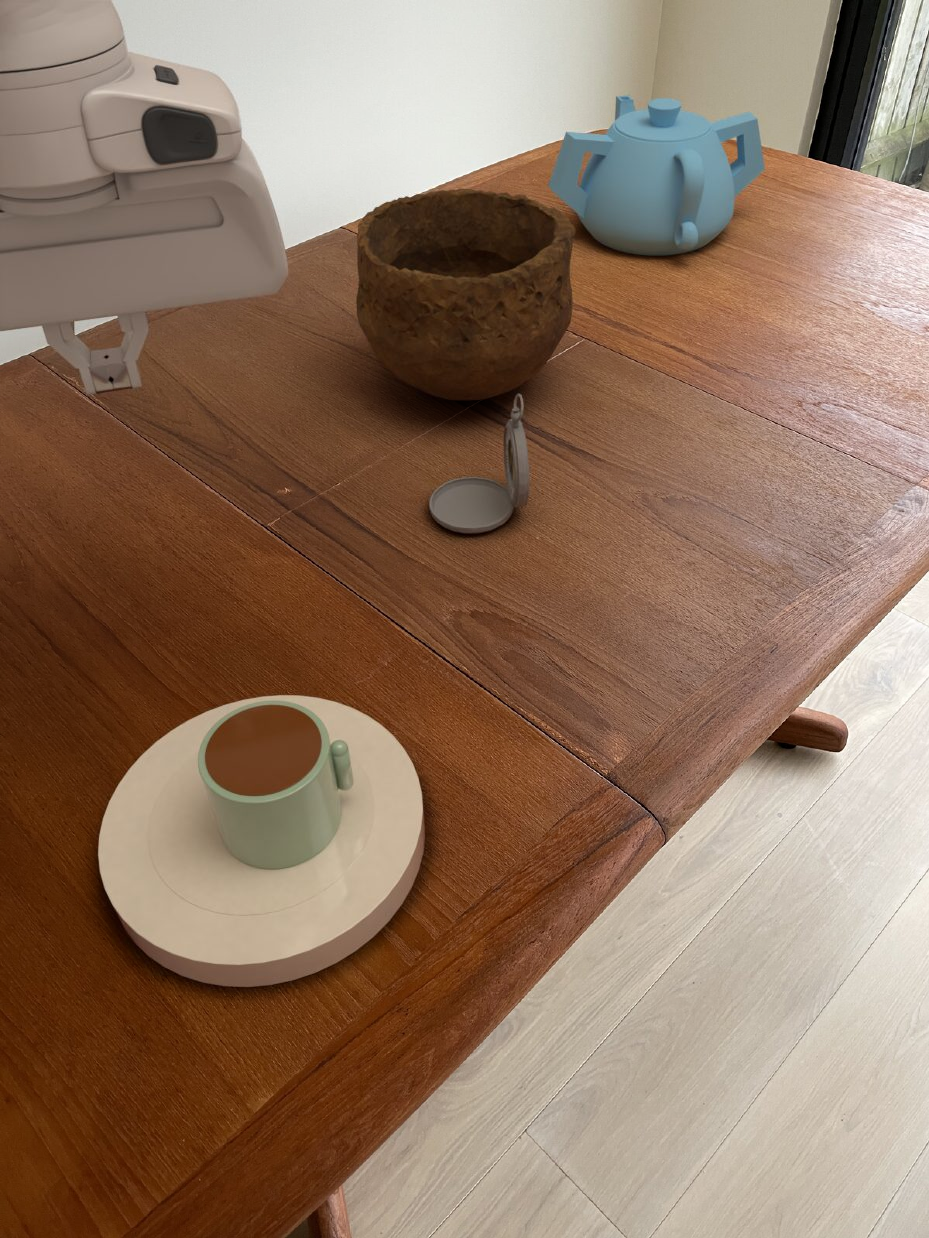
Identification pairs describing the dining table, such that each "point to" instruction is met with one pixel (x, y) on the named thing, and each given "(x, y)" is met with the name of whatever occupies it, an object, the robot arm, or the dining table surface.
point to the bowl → (464, 289)
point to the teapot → (657, 177)
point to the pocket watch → (487, 488)
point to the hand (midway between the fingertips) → (114, 386)
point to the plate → (249, 896)
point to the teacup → (274, 783)
